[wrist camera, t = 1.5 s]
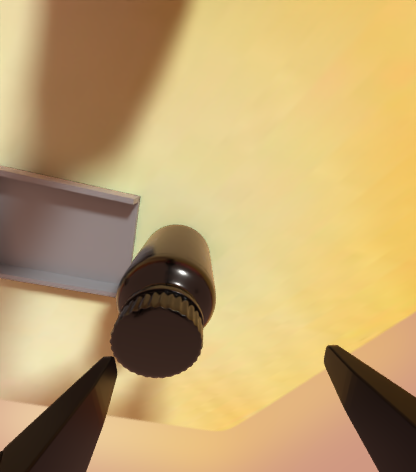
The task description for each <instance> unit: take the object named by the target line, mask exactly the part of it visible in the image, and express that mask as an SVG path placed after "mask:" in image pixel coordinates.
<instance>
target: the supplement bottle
mask: <svg viewBox="0 0 416 472" xmlns="http://www.w3.org/2000/svg"><path fill="white" fill-rule="evenodd" d="M116 304H117V309H118V312H119V316H118V319H117V320H116V322H115V324H114V328H113V330H112V332H111V339H110V343H111V345H112V346H111V350H112V351H113V352H114V353H113V354H114V356H115V357H116V358H117V361H118V362H119V363H121V364H122V365H123V367H125V368H127V369H128V370H129V371H130V372H134V373H136V374H137V375H143V376H145V377H152V378H158V377H159V378H164V377H171V376H173V375H176V374H179V373H181V372H182V371H186V370H187V368H189V367H191V366H192V365H193V363H194V362H195V361H197V357H198V356H199V355H200V353H201V349H202V347H203V328H204V327H205V326H206V325H207V323H208V322H209V320H210V319H211V317H212V315H213V312H214V309H215V304H216V293H215V285H214V278H213V271H212V265H211V258H210V252H209V248H208V245H207V243H206V241H205V239H204V238H203V237H202V236H201V234H199V233H198V232H197V231H196V230H194V229H192V228H190V227H187V226H184V225H169V226H165V227H163V228H160V229H159V230H157V231H156V232H155V233H153V234H152V235H151V236H150V238H149V239H148V240H147V242H146V243H145V245H144V246H143V247H142V249H141V250H140V252H139V253H138V255H137V256H136V258H135V259H134V260H133V262H132V263H131V265H130V266H129V268H128V269H127V270H126V272H125V273H124V275H123V277H122V279H121V280H120V283H119V285H118V288H117V293H116Z"/></svg>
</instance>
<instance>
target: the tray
mask: <svg viewBox="0 0 416 472" xmlns="http://www.w3.org/2000/svg"><path fill="white" fill-rule="evenodd" d="M139 203H140V196H137V195H132V194H128V193H123V192H119V191H114V190H109V189H105V188H100V187H96V186H91V185H87V184H82V183H78V182H73V181H68V180H64V179H59V178H55V177H50V176H46V175H41V174H37V173H32V172H27V171H23V170H18V169H14V168H9V167H5V166H0V278H3V279H9V280H15V281H21V282H27V283H33V284H39V285H45V286H51V287H57V288H63V289H69V290H75V291H80V292H86V293H92V294H98V295H104V296H110V297H116V293H117V288H118V285H119V283H120V280H121V279H122V277H123V275H124V273H125V272H126V270H127V269H128V268H129V266H130V265H131V263H132V258H133V250H134V242H135V234H136V227H137V219H138V211H139Z"/></svg>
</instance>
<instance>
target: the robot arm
mask: <svg viewBox="0 0 416 472" xmlns="http://www.w3.org/2000/svg"><path fill="white" fill-rule="evenodd" d="M324 364H325V367H326V370H327V372H328V374H329V376H330V378H331V381H332V383H333V385H334V387H335V390H336V392H337V394H338V396H339V398H340V401H341V403H342V405H343V407H344V409H345V411H346V413H347V415H348V416H349V418H350V420H351V422H352V424H353V425H354V427H355V429H356V431H357V433H358V434H359V436H360V438H361V440H362V441H363V443H364V445H365V447H366V449H367V451H368V453H369V454H370V456H371V458H372V460H373V462H374V463H375V465H376V467H377V469H378V470H379V472H416V397H414V396H413V395H411V394H410V393H408V392H407V391H405V390H404V389H402V388H401V387H399V386H398V385H396V384H395V383H393V382H392V381H390V380H389V379H387V378H386V377H384V376H383V375H381V374H380V373H378V372H377V371H375V370H374V369H372V368H371V367H369V366H368V365H366V364H365V363H363V362H362V361H360V360H359V359H357V358H356V357H354V356H353V355H351V354H350V353H348V352H347V351H345V350H344V349H342V348H341V347H339V346H338V345H328V346H327V347H326V351H325V356H324ZM116 378H117V368H116V363H115V359H114V357H112V356H110V357H103V358H102V359H100V360H99V361H98V362H97V363H96V364H95V365H94V366H93V367H92V368H91V369H90V370H88V371H87V372H86V373H85V374H84V375H83V376H82V377H81V378H80V379H79V380H78V381H77V382H75V383H74V384H73V385H72V386H71V387H70V388H69V389H68V390H67V391H66V392H65V393H64V394H62V395H61V396H60V397H59V398H58V399H57V400H56V401H55V402H54V403H53V404H52V405H51V406H49V407H48V408H47V409H46V410H45V411H44V412H43V413H42V414H41V415H40V416H39V417H38V418H37V419H35V420H34V422H32V423H31V424H30V425H29V426H28V427H27V428H26V429H25V430H23V432H22V433H20V434H19V435H18V436H17V437H16V438H15V439H14V440H13V441H12V442H10V443H9V444H8V445H7V446H6V447H5V448H4V450H3V451H1V452H0V472H86V470H87V468H88V465H89V462H90V460H91V457H92V454H93V451H94V449H95V446H96V443H97V440H98V438H99V435H100V433H101V430H102V427H103V424H104V421H105V418H106V414H107V411H108V407H109V403H110V400H111V396H112V392H113V389H114V385H115V382H116Z"/></svg>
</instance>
